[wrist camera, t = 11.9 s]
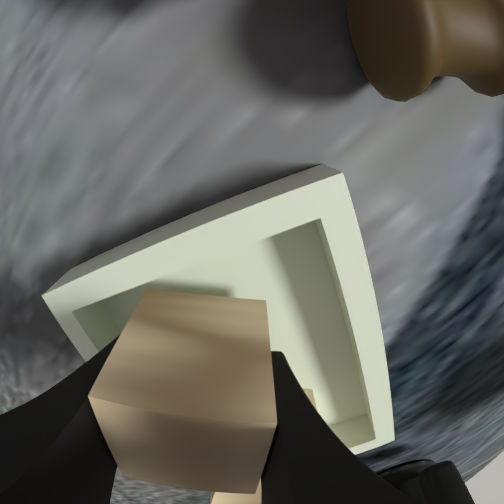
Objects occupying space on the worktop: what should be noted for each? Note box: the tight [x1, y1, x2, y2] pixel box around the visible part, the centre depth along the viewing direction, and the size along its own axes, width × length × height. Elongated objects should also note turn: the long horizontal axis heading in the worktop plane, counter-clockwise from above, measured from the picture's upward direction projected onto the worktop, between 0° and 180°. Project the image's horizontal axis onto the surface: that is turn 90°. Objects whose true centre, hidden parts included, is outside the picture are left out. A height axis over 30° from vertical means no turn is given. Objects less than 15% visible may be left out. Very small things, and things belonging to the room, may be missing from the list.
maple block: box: [88, 288, 277, 494], centre depth 8 cm, size 4×4×5 cm
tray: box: [42, 164, 395, 455], centre depth 12 cm, size 14×11×2 cm
